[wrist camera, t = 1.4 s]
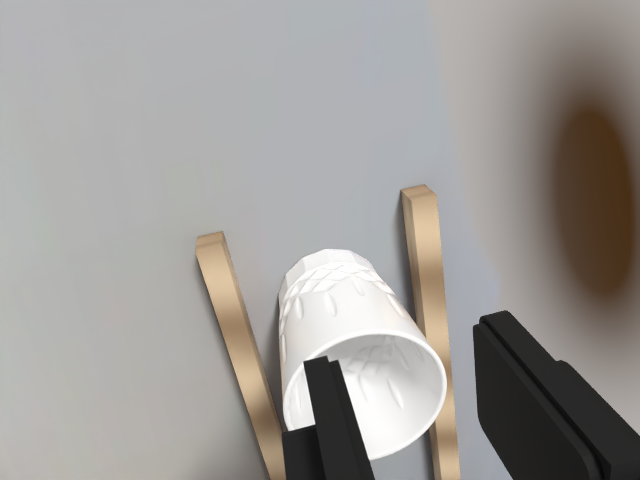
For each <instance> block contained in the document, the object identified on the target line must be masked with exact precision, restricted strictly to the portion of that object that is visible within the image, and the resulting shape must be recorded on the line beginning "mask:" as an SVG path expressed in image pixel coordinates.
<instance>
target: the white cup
mask: <svg viewBox="0 0 640 480" xmlns="http://www.w3.org/2000/svg"><path fill="white" fill-rule="evenodd" d="M278 296H279V308H280V317H279V353H280V367H281V383H282V400H283V415H284V420H285V423H286V426H287V428H288V430H289V431H292V430H296V429H299V428H303V427H307V426H311V425H315V420H314V415H313V410H312V405H311V400H310V395H309V390H308V385H307V380H306V375H305V370H304V365H303V361H306V360H310V359H314V358H318V357H322V356H326V355H327V357H328V360H329V362H331V361H334V360H339V363H340V366H341V370H342V373H343V376H344V380H345V383H346V386H347V389H348V393H349V396H350V399H351V402H352V406H353V409H354V412H355V416H356V419H357V422H358V425H359V429H360V432H361V435H362V439H363V442H364V445H365V448H366V452H367V455H368V458H369V461H370V460H375V459H379V458H382V457H385V456H388V455H391V454H393V453H395V452H397V451H399V450H401V449H403V448H405V447H406V446H408V445H410V444H411V443H412V442H414V441H415V440H416V439H418V438H419V437H420V436H421V435H422V434H423V433H424V432H425V431H426V430H427V429H428V428H429V427H430V426H431V425H432V423H433V422H434V421H435V419H436V418H437V416H438V414H439V413H440V411H441V408H442V406H443V404H444V400H445V397H446V391H447V378H446V372H445V369H444V366H443V364H442V362H441V360H440V358H439V356H438V355H437V354H436V352H435V351H434V349H433V348H432V346H431V345H430V344H429V342H428V341H427V339H426V338H425V337H424V335H423V334H422V332H421V331H420V329H419V328H418V326H417V325H416V324H415V322H414V321H413V319H412V318H411V316H410V315H409V314H408V312H407V311H406V309H405V308H404V306H403V305H402V303H401V302H400V301H399V299H398V298H397V297H396V295H395V294H394V293H393V291H392V290H391V289H390V287H389V286H388V285H387V284H386V283H385V282H384V281H383V280H382V279H381V278H380V277H379V276H378V274H377V273H376V271H375V270H374V268H373V267H372V265H371V264H370V262H369V261H368V260H367V259H365V258H363V257H361V256H359V255H357V254H355V253H353V252H352V251H350V250H338V249H324V250H321V251H318V252H316V253H313V254H310V255H308V256H305V257H303V258H302V259H301V260H300V261H299V262H297V263H296V264H295V265H294V266H293V267H292V268H291V269H290V270H289V271H288V272H287V273H286V275H285V278H284V280H283V283H282V286H281V289H280V291H279V294H278Z"/></svg>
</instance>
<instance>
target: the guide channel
mask: <svg viewBox="0 0 640 480" xmlns="http://www.w3.org/2000/svg"><path fill="white" fill-rule="evenodd" d="M401 196H402V205H403V213H404V222H405V230H406V239H407V247H408V256H409V264H410V273H411V281H412V290H413V298H414V307H415V315H416V324H417V326H418V328H419V329H420V331H421V332H422V334H423V335H424V337H425V338H426V339H427V341H428V342H429V344H430V345H431V346H432V348H433V349H434V351H435V352H436V354H437V355H438V356H439V358H440V360H441V362H442V364H443V366H444V369H445V372H446V378H447V391H446V397H445V400H444V404H443V406H442V408H441V411H440V413H439V414H438V416H437V418H436V419H435V421H434V422H433V423H432V425H431V426H430V427H429V435H430V443H431V452H432V460H433V469H434V478H435V480H460V468H459V456H458V444H457V432H456V420H455V409H454V397H453V385H452V373H451V361H450V349H449V337H448V325H447V313H446V301H445V289H444V277H443V265H442V253H441V241H440V229H439V217H438V205H437V195H436V194H435V193H434V192H433V191H432V190H430V189H429V188H428V187H427V186H426V185H425V184H424V185H420V186H415V187H411V188H407V189H402V190H401ZM195 252H196V255H197V258H198V261H199V264H200V267H201V270H202V273H203V276H204V279H205V282H206V285H207V288H208V291H209V294H210V297H211V300H212V303H213V307H214V310H215V313H216V316H217V319H218V322H219V325H220V328H221V331H222V334H223V337H224V340H225V343H226V346H227V349H228V352H229V355H230V358H231V361H232V364H233V367H234V370H235V373H236V376H237V379H238V382H239V385H240V388H241V391H242V394H243V397H244V400H245V403H246V406H247V409H248V412H249V415H250V418H251V421H252V424H253V427H254V430H255V433H256V436H257V440H258V443H259V446H260V449H261V452H262V455H263V458H264V461H265V464H266V467H267V470H268V473H269V476H270V479H271V480H286V474H285V465H284V456H283V447H282V433H283V432H282V429H281V425H280V422H279V419H278V415H277V412H276V409H275V405H274V402H273V399H272V395H271V392H270V388H269V385H268V382H267V378H266V375H265V372H264V368H263V365H262V362H261V358H260V355H259V351H258V348H257V345H256V341H255V338H254V335H253V331H252V328H251V325H250V321H249V318H248V314H247V311H246V308H245V304H244V301H243V298H242V294H241V291H240V288H239V284H238V281H237V277H236V274H235V271H234V267H233V264H232V261H231V257H230V254H229V251H228V247H227V244H226V240H225V237H224V234H223V231H221V232H217V233H212V234H208V235H204V236H199V237H198V238H197V244H196V250H195Z"/></svg>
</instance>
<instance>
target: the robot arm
mask: <svg viewBox="0 0 640 480" xmlns="http://www.w3.org/2000/svg"><path fill="white" fill-rule="evenodd" d="M473 341H474V358H475V376H476V394H477V411H478V418H479V422H480V425H481V427H482V429H483V431H484V433H485V434H486V436H487V438H488V439H489V441H490V443H491V444H492V446H493V448H494V449H495V451H496V452H497V454H498V456H499V457H500V459H501V461H502V462H503V464H504V466H505V467H506V469H507V471H508V472H509V474H510V476H511V477H512V479H513V480H640V436H639V435H638V434H637V433H636V432H635V431H634V430H633V429H632V428H631V427H630V426H629V425H628V424H627V423H626V422H625V420H624V419H623V418H622V417H620V415H619V414H618V413H617V412H616V411H615V410H613V408H612V407H611V406H610V405H609V404H608V403H607V402H606V401H605V400H604V399H603V398H602V397H601V396H600V395H599V394H598V393H597V392H596V391H595V390H594V389H593V388H592V387H591V386H590V385H589V384H588V383H587V382H586V381H585V380H584V379H583V378H582V376H581V375H580V374H579V373H577V371H576V370H575V369H574V368H573V367H572V366H570V365H569V364H568V363H567V362H564V361H562V360H560V361H555V360H554V359H553V358H552V357H551V356H550V354H549V353H548V352H547V351H546V350H545V349H544V348H543V347H542V346H541V345H540V344H539V343H538V342H537V341H536V340H535V339H534V338H533V336H532V335H531V334H530V333H529V332H528V331H527V330H526V329H525V328H524V327H523V326H522V325H521V324H520V323H519V322H518V321H517V320H516V319H515V317H514V316H513V315H512V314H511V313H510V312H508V311H506V310H505V311H501V312H497V313H493V314H489V315H485V316H482V317H480V320H479V324H477V325H474V326H473ZM303 365H304V370H305V375H306V380H307V385H308V390H309V395H310V400H311V405H312V410H313V415H314V420H315V425H311V426H307V427H303V428H299V429H296V430H292V431H288V432H284V433H282V447H283V456H284V465H285V474H286V480H375V478H374V475H373V471H372V468H371V465H370V461H369V458H368V455H367V452H366V448H365V445H364V442H363V439H362V435H361V432H360V429H359V425H358V422H357V419H356V416H355V412H354V409H353V406H352V402H351V399H350V396H349V393H348V389H347V386H346V383H345V380H344V376H343V373H342V370H341V366H340V363H339V360H334V361H331V362H329V360H328V357H327V355H326V356H322V357H318V358H314V359H310V360H306V361H303Z"/></svg>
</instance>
